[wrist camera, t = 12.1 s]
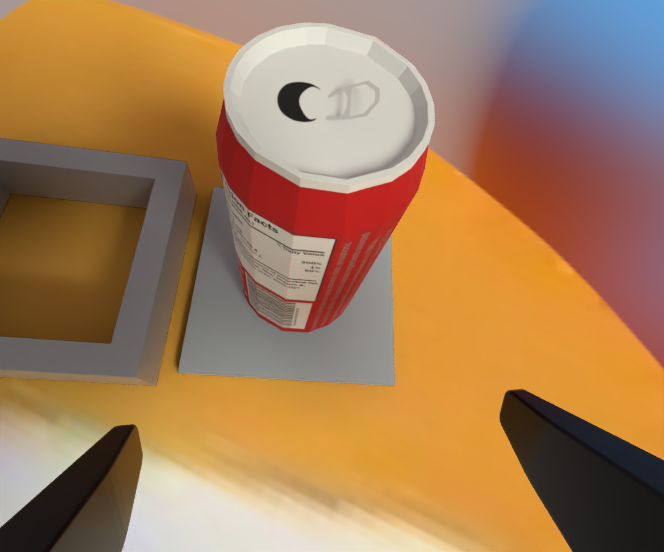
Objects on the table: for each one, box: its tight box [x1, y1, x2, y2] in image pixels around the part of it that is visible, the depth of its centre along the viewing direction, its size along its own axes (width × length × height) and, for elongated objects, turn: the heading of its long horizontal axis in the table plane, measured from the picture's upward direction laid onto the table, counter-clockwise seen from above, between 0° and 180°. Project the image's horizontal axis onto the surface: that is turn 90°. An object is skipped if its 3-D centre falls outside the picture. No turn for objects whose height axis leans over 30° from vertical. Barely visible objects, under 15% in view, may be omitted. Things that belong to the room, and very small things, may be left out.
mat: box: [178, 187, 395, 386], centre depth 20 cm, size 10×10×1 cm
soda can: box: [216, 23, 435, 333], centre depth 14 cm, size 6×6×12 cm
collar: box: [0, 138, 197, 386], centre depth 17 cm, size 10×10×3 cm
